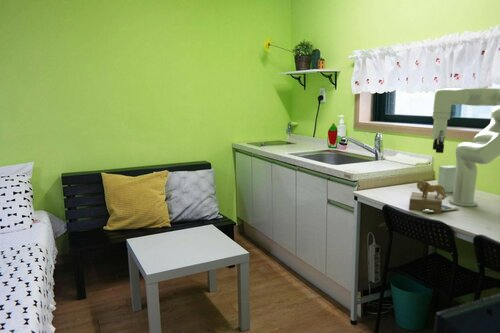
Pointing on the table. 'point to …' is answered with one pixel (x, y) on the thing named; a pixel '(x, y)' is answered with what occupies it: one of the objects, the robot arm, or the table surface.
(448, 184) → the skincare box
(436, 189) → the lion figurine
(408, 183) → the table surface
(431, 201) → the walnut box
